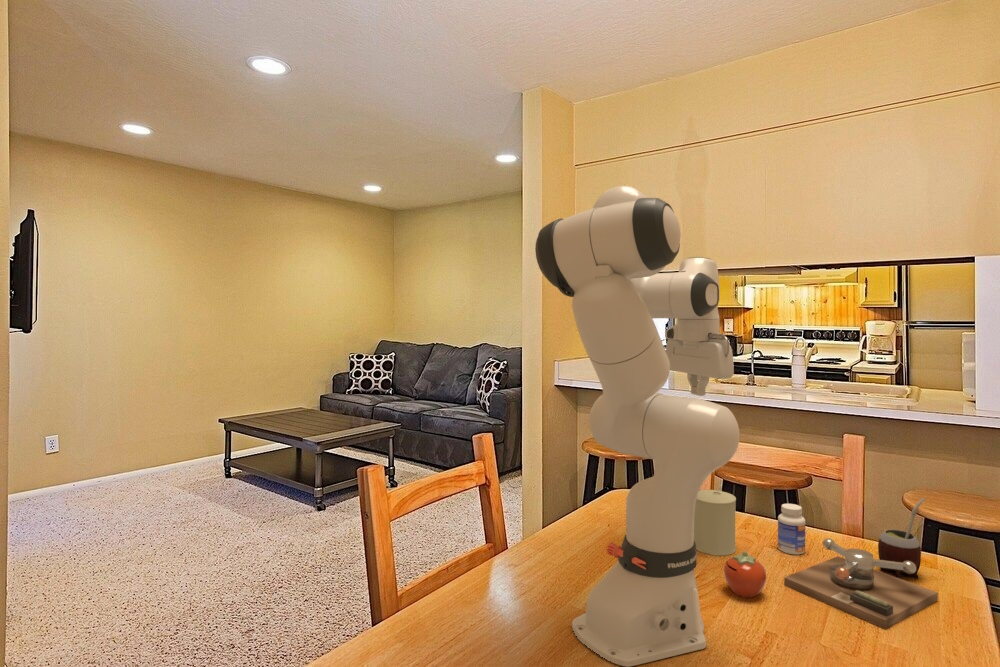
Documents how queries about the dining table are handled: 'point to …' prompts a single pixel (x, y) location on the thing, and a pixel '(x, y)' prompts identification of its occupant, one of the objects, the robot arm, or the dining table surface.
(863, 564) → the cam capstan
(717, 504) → the can
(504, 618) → the dining table surface
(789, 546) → the pill bottle
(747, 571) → the tomato
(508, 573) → the dining table surface
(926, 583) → the dining table surface
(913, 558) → the mate gourd
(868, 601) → the stand board
